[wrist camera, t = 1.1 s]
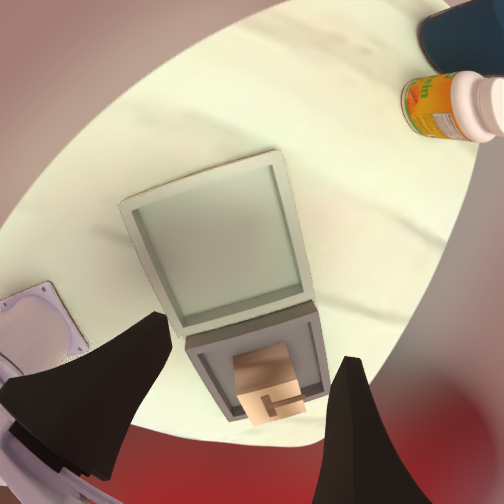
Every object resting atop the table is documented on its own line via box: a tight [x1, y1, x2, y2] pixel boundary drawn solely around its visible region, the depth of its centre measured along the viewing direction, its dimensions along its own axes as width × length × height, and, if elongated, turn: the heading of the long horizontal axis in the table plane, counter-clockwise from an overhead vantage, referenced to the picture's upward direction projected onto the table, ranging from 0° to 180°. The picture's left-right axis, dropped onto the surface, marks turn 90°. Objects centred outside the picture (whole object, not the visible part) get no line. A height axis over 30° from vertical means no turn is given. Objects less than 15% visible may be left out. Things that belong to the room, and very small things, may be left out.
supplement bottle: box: [402, 71, 504, 143], centre depth 15 cm, size 5×5×10 cm
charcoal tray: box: [185, 300, 331, 422], centre depth 26 cm, size 12×12×2 cm
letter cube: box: [233, 341, 306, 426], centre depth 24 cm, size 5×5×5 cm
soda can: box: [421, 0, 504, 78], centre depth 11 cm, size 7×7×12 cm
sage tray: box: [117, 149, 315, 338], centre depth 21 cm, size 12×12×2 cm
